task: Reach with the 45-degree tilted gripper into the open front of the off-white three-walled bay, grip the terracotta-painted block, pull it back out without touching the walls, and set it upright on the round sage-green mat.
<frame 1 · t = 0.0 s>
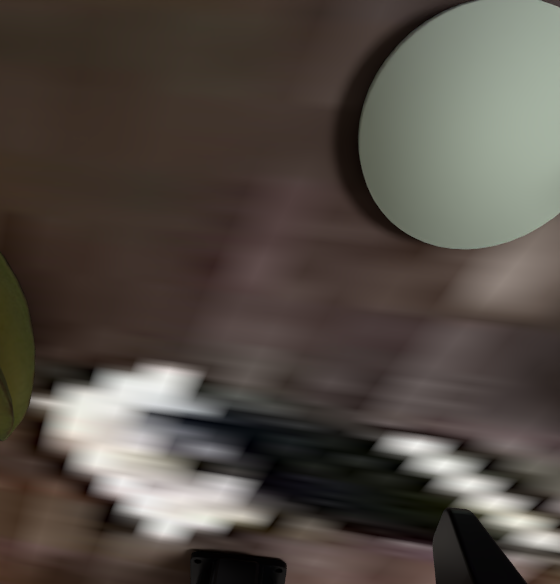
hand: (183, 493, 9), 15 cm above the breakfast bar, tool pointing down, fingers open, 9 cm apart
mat: (475, 132, 19), on the breakfast bar
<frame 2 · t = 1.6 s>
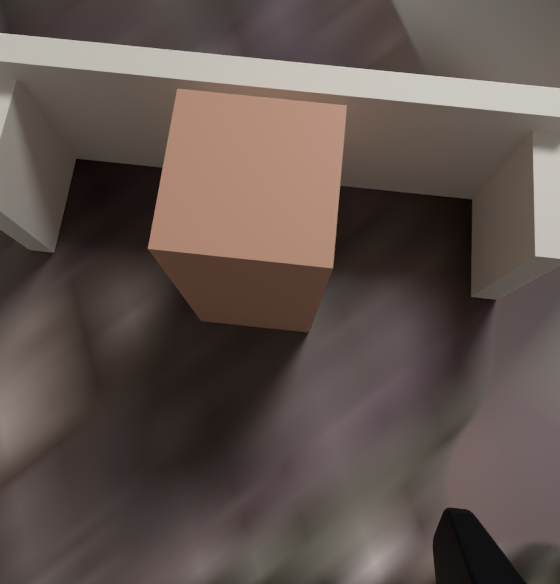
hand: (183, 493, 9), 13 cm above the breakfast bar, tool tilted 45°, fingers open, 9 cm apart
bay: (261, 274, 24), on the breakfast bar
block: (261, 275, 24), on the breakfast bar
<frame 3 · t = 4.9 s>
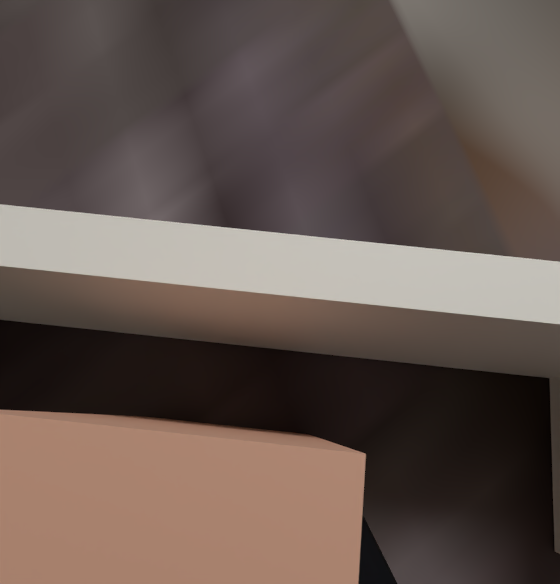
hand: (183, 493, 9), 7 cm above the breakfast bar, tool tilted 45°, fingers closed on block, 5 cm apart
bay: (215, 513, 15), on the breakfast bar
block: (216, 513, 15), on the breakfast bar, touching gripper
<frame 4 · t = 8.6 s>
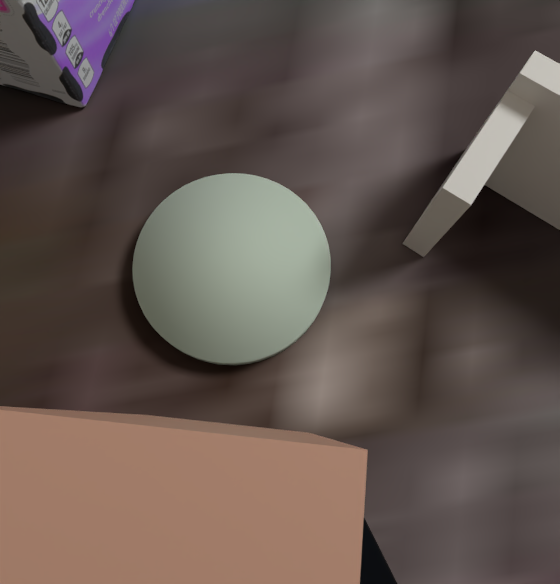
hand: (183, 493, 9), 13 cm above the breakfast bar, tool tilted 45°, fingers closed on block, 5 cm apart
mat: (233, 269, 24), on the breakfast bar
block: (216, 511, 15), point 7 cm above the breakfast bar, touching gripper
when the fingers open (9 cm above the breakfast bar, at t = 11.5 s): block drops 1 cm, resting on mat.
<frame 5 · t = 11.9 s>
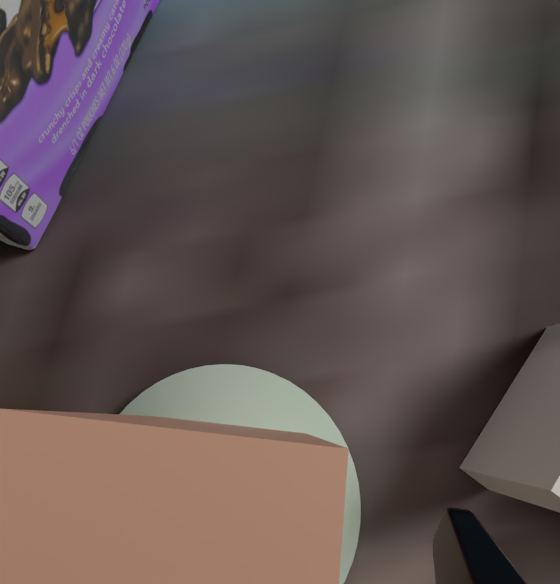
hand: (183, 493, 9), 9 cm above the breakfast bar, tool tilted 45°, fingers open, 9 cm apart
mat: (224, 500, 17), on the breakfast bar
block: (221, 504, 16), point 1 cm above the breakfast bar, touching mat
candy box: (50, 92, 21), on the breakfast bar
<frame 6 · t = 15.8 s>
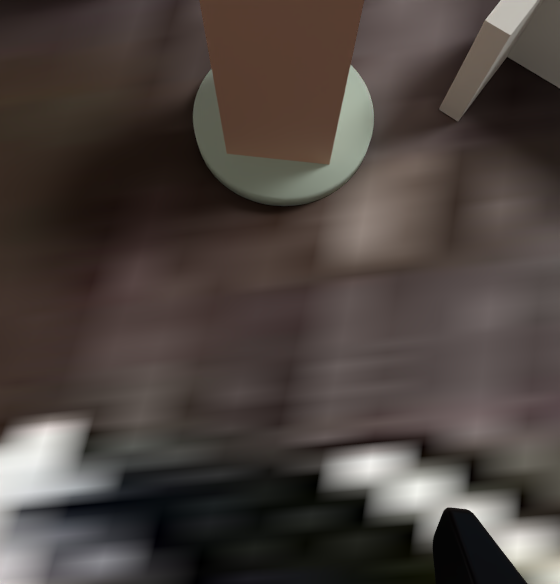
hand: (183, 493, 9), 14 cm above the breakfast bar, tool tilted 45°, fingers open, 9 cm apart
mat: (283, 125, 26), on the breakfast bar
block: (283, 114, 25), point 1 cm above the breakfast bar, touching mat
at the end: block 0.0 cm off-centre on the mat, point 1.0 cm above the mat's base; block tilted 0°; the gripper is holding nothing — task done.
